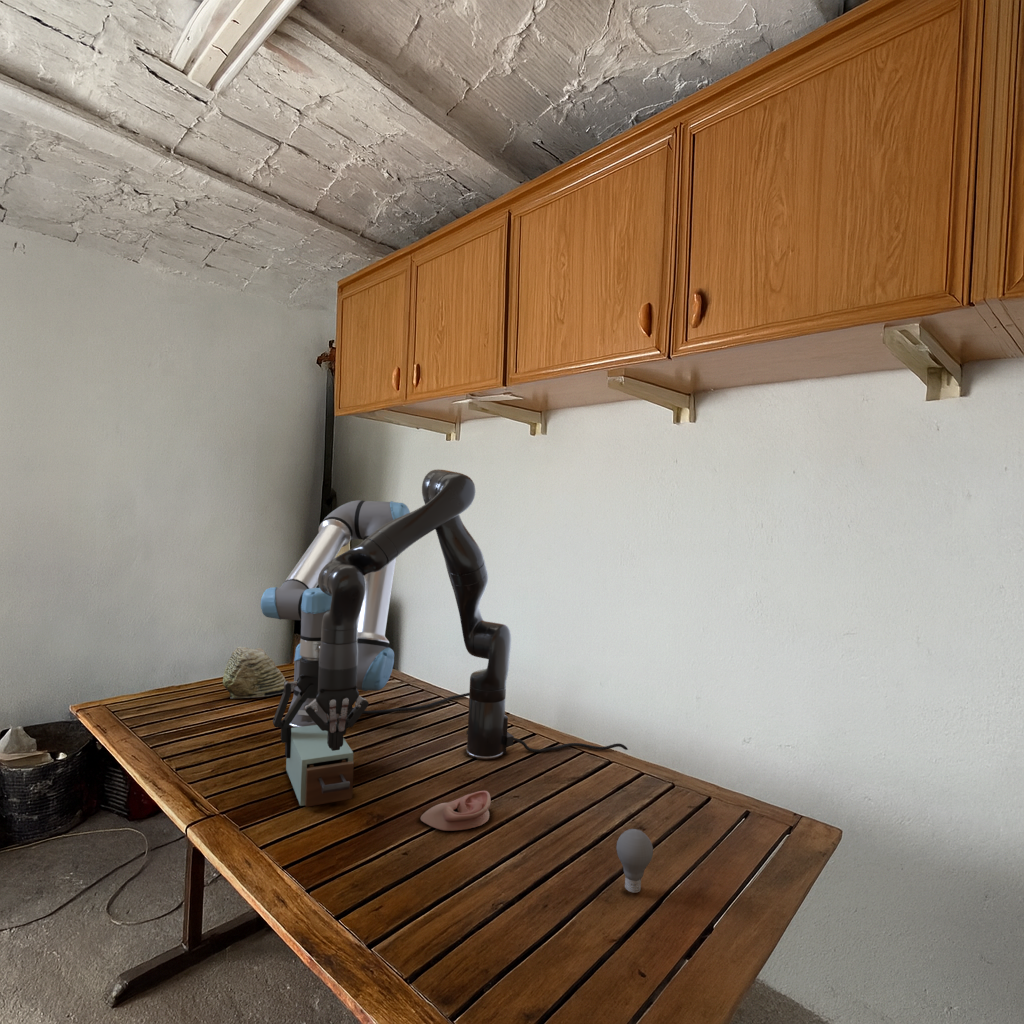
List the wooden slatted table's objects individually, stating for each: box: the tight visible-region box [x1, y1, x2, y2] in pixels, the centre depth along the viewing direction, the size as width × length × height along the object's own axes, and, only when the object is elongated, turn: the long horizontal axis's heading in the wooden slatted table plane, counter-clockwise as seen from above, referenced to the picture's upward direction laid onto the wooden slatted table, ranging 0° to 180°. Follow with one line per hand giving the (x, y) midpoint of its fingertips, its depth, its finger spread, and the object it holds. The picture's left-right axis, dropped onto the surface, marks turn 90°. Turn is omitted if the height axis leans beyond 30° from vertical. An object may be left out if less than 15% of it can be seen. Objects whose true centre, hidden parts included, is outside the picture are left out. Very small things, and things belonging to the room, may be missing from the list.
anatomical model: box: [419, 790, 492, 832], centre depth 127 cm, size 13×4×12 cm
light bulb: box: [615, 828, 654, 894], centre depth 106 cm, size 6×6×10 cm
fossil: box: [222, 646, 287, 699], centre depth 198 cm, size 9×18×15 cm, turn 132°
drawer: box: [304, 759, 355, 808], centre depth 135 cm, size 23×9×8 cm, turn 28°
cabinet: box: [285, 725, 354, 807], centre depth 140 cm, size 19×10×10 cm, turn 28°
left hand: (313, 752), depth 145 cm, fingers closed on cabinet, 10 cm apart
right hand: (335, 748), depth 127 cm, fingers closed
